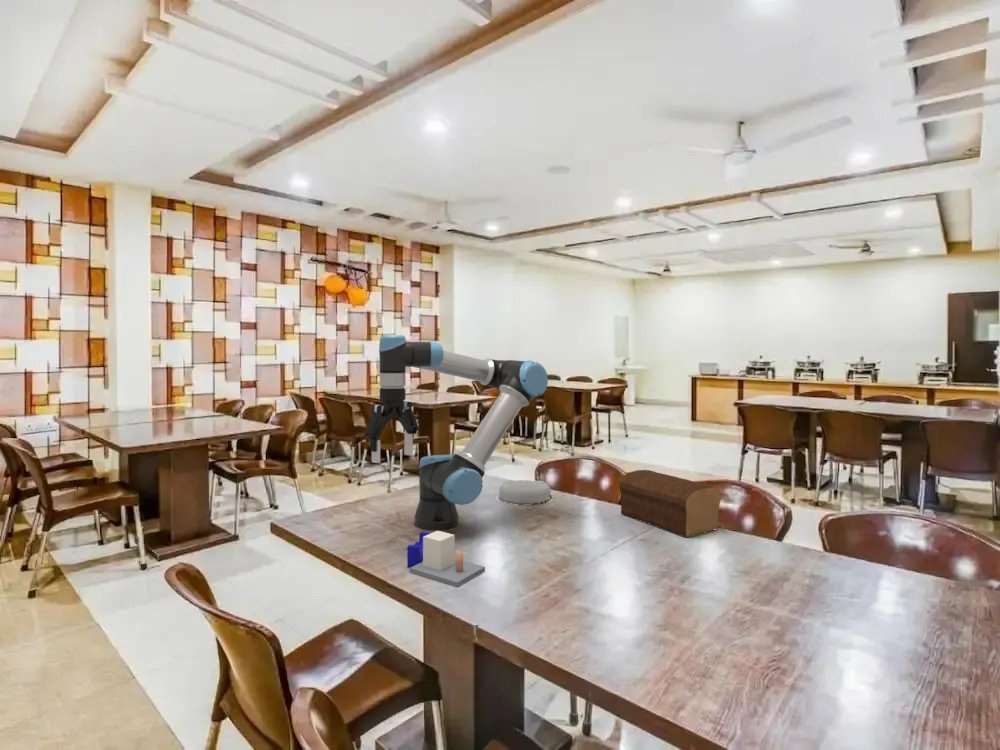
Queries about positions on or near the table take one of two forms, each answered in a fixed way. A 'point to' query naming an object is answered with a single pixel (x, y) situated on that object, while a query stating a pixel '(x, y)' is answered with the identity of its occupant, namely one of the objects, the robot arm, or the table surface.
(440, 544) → the cream rectangular block
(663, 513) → the bread
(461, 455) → the robot arm
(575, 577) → the table surface
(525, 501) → the round ceiling alarm
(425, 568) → the board
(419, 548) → the blue arched piece
